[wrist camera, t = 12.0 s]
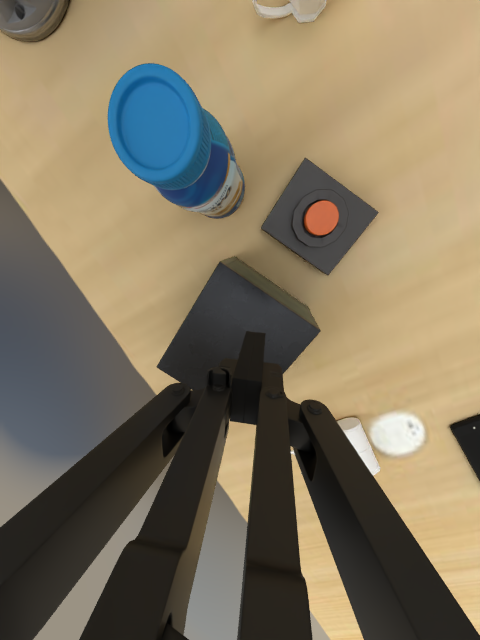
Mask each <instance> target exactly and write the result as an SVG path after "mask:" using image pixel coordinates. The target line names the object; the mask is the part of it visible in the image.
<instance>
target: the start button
mask: <svg viewBox="0 0 480 640" xmlns="http://www.w3.org/2000/svg"><path fill="white" fill-rule="evenodd" d="M338 220H339V212H338V209H337V207H336V206H335V205H334V204H333V203H332V202H330V201H326V200H322V201H318V202H316V203H314V204H313V205H312V206H311V207H310V208H309V209H308V210H307V212H306V214H305V217H304V225H305V228H306V230H307V231H308V232H309V233H311V234H313V235H317V236H319V235H325V234H328V233H329V232H331V231H332V230H333V229H334V228H335V227H336V225H337V223H338Z"/></svg>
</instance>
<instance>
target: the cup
mask: <svg viewBox="0 0 480 640" xmlns="http://www.w3.org/2000/svg"><path fill="white" fill-rule="evenodd" d="M252 1H253V5H254V8H255V10H256V12H257V14H258V15H260V16H261V17H264V18H281V17H286V16H288V15H290V14H291V13H292V14H293V15H294V17H295V18H296V20H297V21H298V22H299V23H304V22H314V20H315V19H316V18H317V17H318V15H319V14H320V13H321V12H322V10H323V9H324V8H325V6H326V0H289V1H290V3H288V4H287V5H285V6H282V7H277V8H276V7H265V6H262V5H259V4H257V0H252Z"/></svg>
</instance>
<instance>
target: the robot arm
mask: <svg viewBox="0 0 480 640" xmlns="http://www.w3.org/2000/svg"><path fill="white" fill-rule="evenodd" d="M68 3H69V0H0V31H2V32H3V33H4V34H6V35H8V36H9V37H11V38H14V39H16V40H20V41H25V42H33V41H38V40H41V39H43V38H45V37H47V36H48V35H49V34H51V33H52V32H53V31H54V30H55V29H56V27H57V26H58V25H59V23H60V22H61V20H62V18H63V16H64V14H65V12H66V9H67V6H68ZM265 335H266V333H261V332H251V331H246V334H245V337H244V340H243V344H242V347H241V351H240V354H239V357H238V360H237V359H228V358H225V359H223V360H222V361H220V364H219V366H218V367H213V368H211V369H209V370H208V371H207V379H206V387H205V388H204V389H201V390H192V391H191V389H190V387H189V385H187V384H184V383H174V384H171V385H169V386H167V387H166V388H165V389H164V390H163V391H161V392H160V393H159V394H158V395H157V396H155V397H154V398H153V399H152V400H151V401H149V402H148V403H147V404H146V405H145V406H144V407H142V408H141V409H140V410H139V411H138V412H136V413H135V414H134V415H133V416H132V417H131V418H129V419H128V420H127V421H126V422H125V423H123V424H122V425H121V426H120V427H119V428H118V429H116V430H115V431H114V432H113V433H112V434H110V435H109V436H108V437H107V438H106V439H105V440H104V441H102V442H101V443H100V444H99V445H97V446H96V447H95V448H94V449H93V450H91V451H90V452H89V453H88V454H87V455H86V456H84V457H83V458H82V459H81V460H80V461H78V462H77V463H76V464H75V465H74V466H73V467H71V468H70V469H69V470H68V471H67V472H66V473H64V474H63V475H62V476H61V477H60V478H58V479H57V480H56V481H55V482H54V483H53V484H51V485H50V486H49V487H48V488H47V489H45V490H44V491H43V492H42V493H41V494H39V495H38V496H37V497H36V498H35V499H33V500H32V501H31V502H30V503H29V504H28V505H26V506H25V507H24V508H23V509H22V510H20V511H19V512H18V513H17V514H16V515H15V516H13V517H12V518H11V519H10V520H9V521H7V522H6V523H5V524H4V525H3V526H2V527H0V640H33V639H34V637H35V636H36V635H37V634H38V632H39V631H40V630H41V629H42V628H43V626H44V625H45V624H46V622H47V621H48V620H49V618H50V617H51V616H52V615H53V613H54V612H55V611H56V609H57V608H58V607H59V605H60V604H61V603H62V601H63V600H64V599H65V597H66V596H67V595H68V594H69V592H70V591H71V590H72V588H73V587H74V586H75V584H76V583H77V582H78V580H79V579H80V578H81V577H82V575H83V574H84V573H85V571H86V570H87V569H88V567H89V566H90V565H91V563H92V562H93V561H94V559H95V558H96V557H97V555H98V554H99V553H100V552H101V550H102V549H103V548H104V546H105V545H106V543H107V542H108V541H109V540H110V538H111V537H112V536H113V534H114V533H115V532H116V531H117V529H118V528H119V527H120V525H121V524H122V523H123V521H124V520H125V519H126V517H127V516H128V515H129V514H130V512H131V511H132V510H133V508H134V507H135V506H136V504H137V503H138V502H139V500H140V499H141V498H142V496H143V495H144V494H145V493H146V491H147V490H148V489H149V487H150V486H151V485H152V483H153V482H154V481H155V480H156V478H157V477H158V475H159V474H160V473H161V472H162V470H163V469H164V468H165V466H166V465H167V464H168V463H169V461H170V460H171V459H172V457H173V456H174V455H175V456H174V458H173V460H172V462H171V464H170V467H169V469H168V471H167V473H166V475H165V478H164V480H163V482H162V484H161V486H160V489H159V491H158V493H157V495H156V497H155V500H154V502H153V504H152V506H151V508H150V511H149V513H148V515H147V517H146V519H145V522H144V524H143V526H142V528H141V530H140V532H139V534H138V536H137V537H136V539H135V540H133V541H130V542H129V543H128V544H127V545H126V547H125V548H124V549H123V551H122V553H121V555H120V557H119V559H118V561H117V563H116V565H115V567H114V569H113V571H112V573H111V575H110V577H109V579H108V582H107V583H106V585H105V588H104V590H103V592H102V594H101V596H100V598H99V600H98V602H97V604H96V606H95V608H94V611H93V612H92V614H91V616H90V619H89V621H88V623H87V625H86V627H85V629H84V631H83V633H82V635H81V637H80V639H79V640H189V639H187V638H186V637H185V636H183V634H184V628H185V621H186V614H187V608H188V603H189V598H190V594H191V589H192V585H193V581H194V577H195V572H196V568H197V564H198V559H199V555H200V551H201V546H202V542H203V537H204V533H205V529H206V524H207V520H208V516H209V511H210V507H211V502H212V499H213V494H214V489H215V486H216V481H217V477H218V472H219V468H220V464H221V459H222V455H223V451H224V446H225V442H226V438H227V433H228V429H229V419H230V421H233V422H240V423H247V424H254V425H257V427H256V437H255V449H254V460H253V471H252V482H251V493H250V504H249V515H248V526H247V539H246V549H245V560H244V571H243V582H242V593H241V604H240V615H239V626H238V636H237V640H312V631H311V620H310V610H309V600H308V592H307V586H306V581H305V578H304V577H303V575H302V573H301V567H300V556H299V544H298V532H297V520H296V508H295V496H294V484H293V473H292V461H291V449H290V446H292V447H293V450H294V453H295V456H296V459H297V461H298V464H299V467H300V469H301V472H302V475H303V477H304V480H305V483H306V485H307V488H308V491H309V494H310V496H311V499H312V502H313V504H314V507H315V510H316V512H317V515H318V518H319V520H320V523H321V526H322V528H323V531H324V534H325V536H326V539H327V542H328V544H329V547H330V550H331V552H332V555H333V558H334V561H335V563H336V566H337V569H338V571H339V574H340V577H341V579H342V582H343V585H344V587H345V590H346V593H347V595H348V598H349V601H350V603H351V606H352V609H353V611H354V614H355V617H356V619H357V622H358V625H359V627H360V630H361V633H362V636H363V638H364V640H480V635H479V634H478V632H477V631H476V629H475V628H474V626H473V625H472V623H471V622H470V620H469V619H468V617H467V616H466V614H465V613H464V611H463V610H462V608H461V607H460V605H459V604H458V602H457V601H456V599H455V598H454V596H453V595H452V593H451V592H450V590H449V589H448V587H447V586H446V584H445V583H444V581H443V580H442V578H441V577H440V575H439V574H438V572H437V571H436V570H435V568H434V567H433V565H432V564H431V562H430V561H429V559H428V558H427V556H426V555H425V553H424V552H423V550H422V549H421V547H420V546H419V544H418V543H417V541H416V540H415V538H414V537H413V535H412V534H411V532H410V531H409V529H408V528H407V526H406V525H405V523H404V522H403V520H402V519H401V517H400V516H399V514H398V513H397V511H396V510H395V508H394V507H393V505H392V504H391V502H390V501H389V499H388V498H387V496H386V495H385V493H384V492H383V490H382V489H381V487H380V486H379V484H378V483H377V481H376V480H375V478H374V477H373V475H372V474H371V472H370V471H369V469H368V468H367V466H366V465H365V463H364V462H363V460H362V459H361V457H360V456H359V454H358V453H357V451H356V450H355V448H354V447H353V445H352V444H351V442H350V441H349V439H348V438H347V436H346V435H345V433H344V432H343V430H342V429H341V427H340V426H339V424H338V423H337V421H336V420H335V418H334V417H333V415H332V414H331V412H330V411H329V409H328V408H327V407H326V406H325V405H324V404H322V403H321V402H319V401H316V400H305V401H303V402H302V403H301V405H300V404H298V403H295V402H293V401H291V400H289V399H288V398H287V397H286V394H285V392H284V388H283V374H282V368H281V366H280V365H279V364H275V363H266V362H264V349H265Z"/></svg>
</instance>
